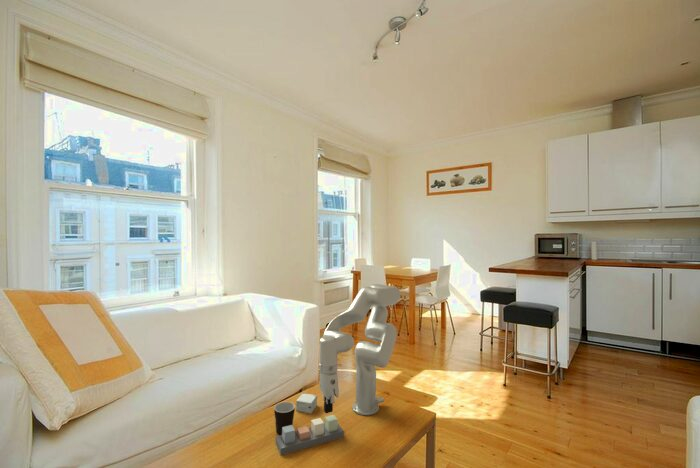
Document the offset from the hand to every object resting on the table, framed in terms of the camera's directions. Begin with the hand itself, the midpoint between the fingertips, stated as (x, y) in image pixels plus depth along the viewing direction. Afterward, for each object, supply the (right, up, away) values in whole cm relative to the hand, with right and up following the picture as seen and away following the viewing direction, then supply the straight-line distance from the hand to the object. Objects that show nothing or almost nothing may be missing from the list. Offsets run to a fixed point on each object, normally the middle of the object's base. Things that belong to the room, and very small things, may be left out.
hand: (328, 411), depth 133 cm
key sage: (+1, -7, 0) cm, 7 cm away
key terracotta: (-10, -9, -5) cm, 14 cm away
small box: (-12, -10, +20) cm, 25 cm away
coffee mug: (-18, -9, +3) cm, 21 cm away
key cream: (-4, -7, -3) cm, 9 cm away
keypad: (-7, -9, -4) cm, 12 cm away
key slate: (-15, -7, -8) cm, 18 cm away
